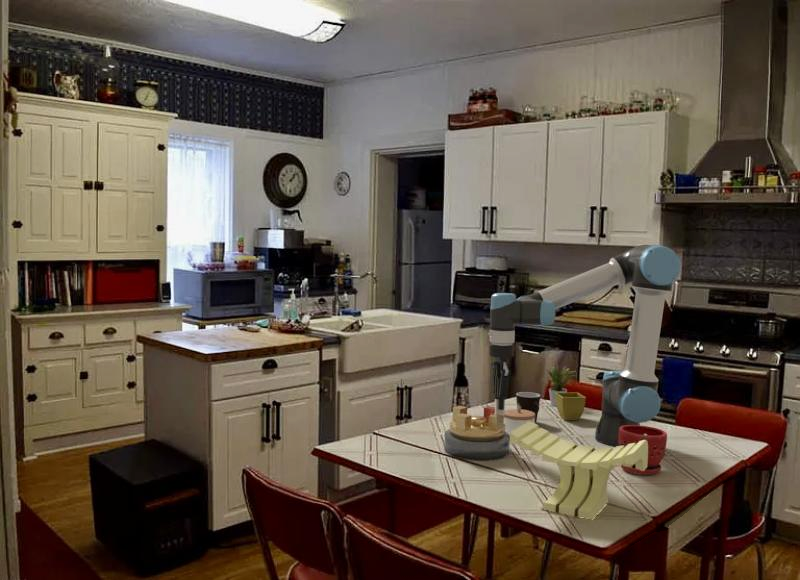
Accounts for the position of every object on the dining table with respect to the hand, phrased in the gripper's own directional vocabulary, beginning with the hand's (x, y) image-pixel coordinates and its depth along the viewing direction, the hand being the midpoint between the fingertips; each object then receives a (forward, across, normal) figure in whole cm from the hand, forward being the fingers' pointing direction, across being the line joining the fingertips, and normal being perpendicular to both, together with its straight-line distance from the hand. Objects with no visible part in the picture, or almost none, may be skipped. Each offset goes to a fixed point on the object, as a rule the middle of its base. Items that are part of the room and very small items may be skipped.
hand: (499, 419), depth 226 cm
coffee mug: (+10, -32, +20) cm, 38 cm away
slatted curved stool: (+10, +46, +7) cm, 48 cm away
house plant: (+10, -57, +40) cm, 70 cm away
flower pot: (+10, -36, +37) cm, 53 cm away
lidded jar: (+10, -16, +11) cm, 22 cm away
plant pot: (+10, +22, +36) cm, 43 cm away
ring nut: (+5, 0, -7) cm, 8 cm away
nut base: (+10, 0, -7) cm, 12 cm away
